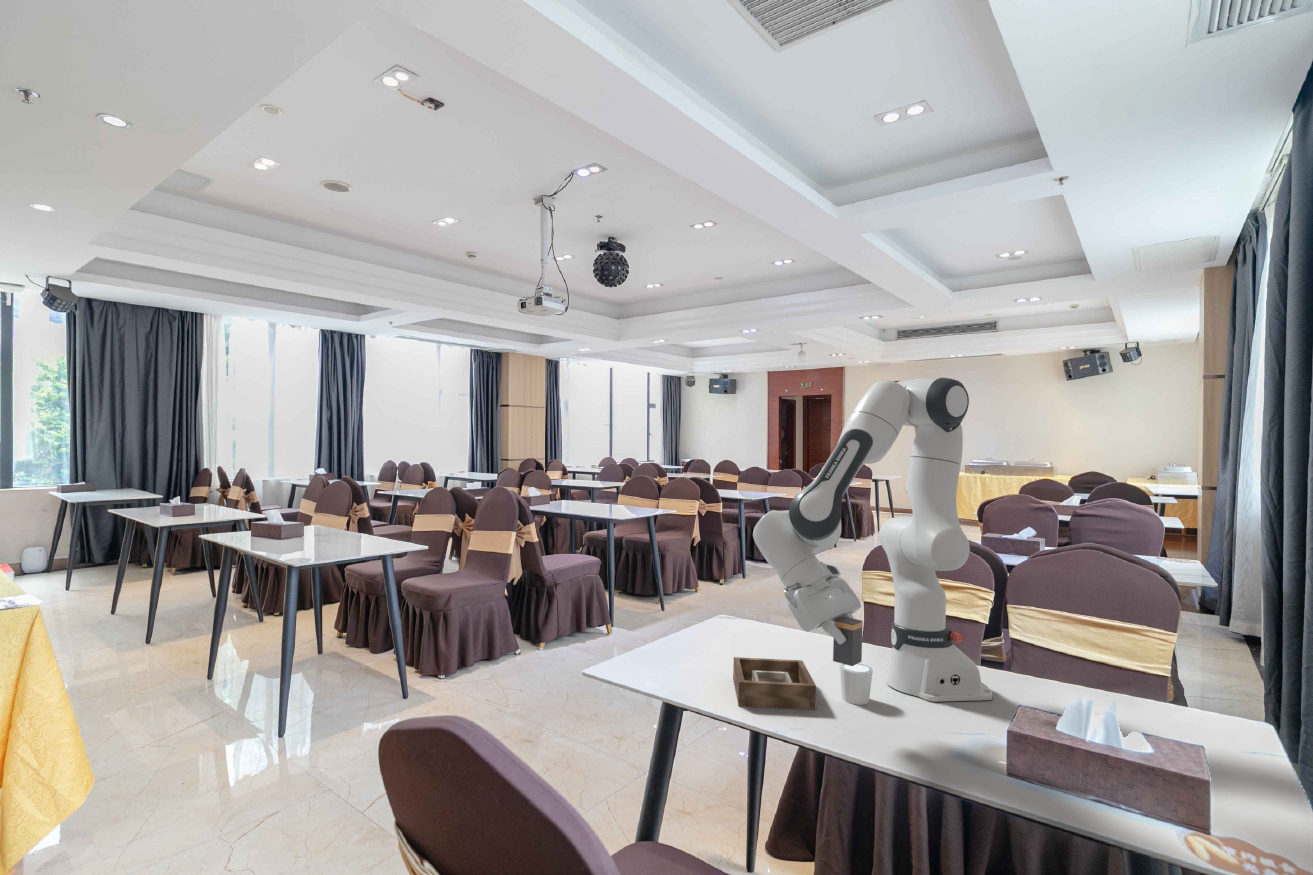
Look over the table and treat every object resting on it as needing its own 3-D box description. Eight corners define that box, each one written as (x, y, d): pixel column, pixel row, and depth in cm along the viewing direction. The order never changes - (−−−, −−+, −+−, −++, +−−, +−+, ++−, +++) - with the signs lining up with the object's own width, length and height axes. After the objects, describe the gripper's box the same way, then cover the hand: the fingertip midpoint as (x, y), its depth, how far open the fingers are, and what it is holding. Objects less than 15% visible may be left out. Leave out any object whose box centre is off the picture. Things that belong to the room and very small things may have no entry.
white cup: (872, 696, 140) (872, 664, 140) (871, 707, 134) (872, 674, 134) (839, 691, 142) (840, 660, 143) (838, 702, 136) (839, 670, 136)
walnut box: (801, 681, 148) (802, 660, 148) (815, 710, 132) (816, 685, 132) (733, 678, 148) (733, 657, 148) (738, 705, 132) (739, 682, 133)
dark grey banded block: (842, 656, 126) (843, 616, 127) (861, 661, 124) (862, 620, 124) (832, 660, 124) (834, 619, 124) (852, 666, 121) (853, 624, 121)
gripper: (791, 578, 121) (837, 641, 114) (840, 566, 136) (883, 621, 129) (770, 597, 124) (814, 659, 117) (820, 583, 139) (862, 637, 132)
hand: (850, 639), depth 123 cm, fingers closed on dark grey banded block, 4 cm apart
